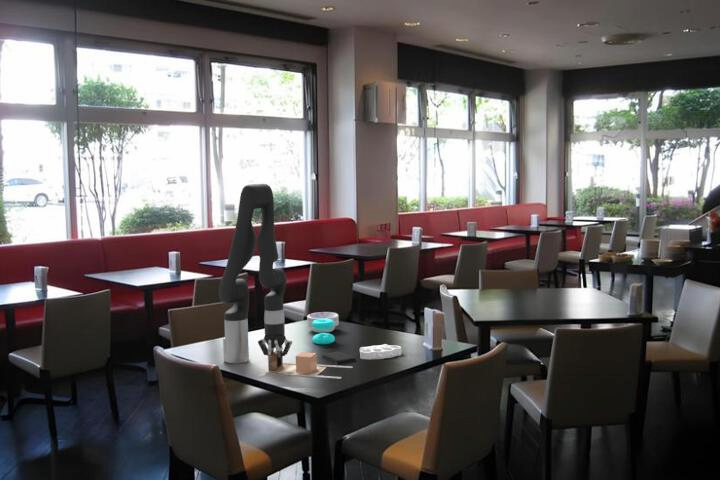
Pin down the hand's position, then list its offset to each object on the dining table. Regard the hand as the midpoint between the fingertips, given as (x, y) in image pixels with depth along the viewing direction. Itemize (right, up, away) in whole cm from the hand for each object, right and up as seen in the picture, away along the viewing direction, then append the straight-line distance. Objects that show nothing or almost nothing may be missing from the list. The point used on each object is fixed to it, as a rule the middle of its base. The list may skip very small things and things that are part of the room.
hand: (275, 366), depth 248 cm
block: (+12, -1, -3) cm, 13 cm away
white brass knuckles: (+40, 0, +21) cm, 45 cm away
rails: (+14, -2, -4) cm, 14 cm away
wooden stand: (+8, -2, -2) cm, 9 cm away
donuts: (+16, +2, +45) cm, 48 cm away
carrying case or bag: (+24, -1, +12) cm, 27 cm away
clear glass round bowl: (+14, +4, +69) cm, 70 cm away
